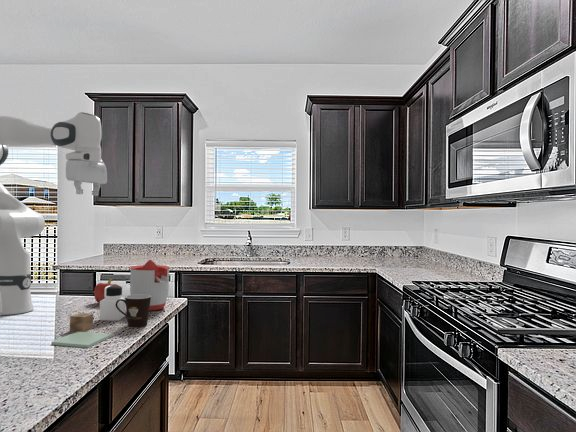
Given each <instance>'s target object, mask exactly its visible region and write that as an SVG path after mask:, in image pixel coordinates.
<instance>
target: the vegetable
mask: <svg viewBox="0 0 576 432" xmlns="http://www.w3.org/2000/svg"><path fill="white" fill-rule="evenodd" d="M111 282H113V278H109V279H108V281H107V283H102V282H100V283H96V284H95V286H94V291H93V292H94V300H95V301H96V303H98V304H100V301H101V300H103V299H105V297H104V291H105V287H107V286H111V285H118V286H120V285H119V284H117V283H113V284H112V283H111Z"/></svg>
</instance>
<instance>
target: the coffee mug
mask: <svg viewBox="0 0 576 432" xmlns="http://www.w3.org/2000/svg"><path fill="white" fill-rule="evenodd" d="M124 298H125V300H123V299H120V300H118V301H117V302H116V308H117V309H118V310H119V311H120V312H121V313H122V314H124V315H125V317H126V321H127V326H128V327H130V328H144V327H146V326H148V319H149V313H150V311H149V307H150V300H151V296H150V295H145V294H135V295H131V294H129V295H126V296H124ZM119 301H123V302H125V304H126V308H125V313H124V312H123V311H121V310H120V309H119V308H118V306H117V304H118V302H119Z"/></svg>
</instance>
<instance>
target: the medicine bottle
mask: <svg viewBox="0 0 576 432" xmlns="http://www.w3.org/2000/svg"><path fill="white" fill-rule="evenodd" d="M118 285H119V284H117V285H111V286H107V287H105V291H104V297H105V299H103V300H101V301H100V303H99V321H109V322H110V321H112V322H114V321H117V322H118V321H119V322H120V320H122V319H123V318H125V317H126V316H125V315H124V314H122V313H121V312H120V311H119V310H118V309H117V308H116V302H117V301H118V300H120V299H123V300H125V297H123V287H122V286H121V285H119V286H118ZM117 306H118V308H119V309H120V310H121V311H123V312H124V313H125V314H126V304H125V302H123V301H119V302H118V304H117Z"/></svg>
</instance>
